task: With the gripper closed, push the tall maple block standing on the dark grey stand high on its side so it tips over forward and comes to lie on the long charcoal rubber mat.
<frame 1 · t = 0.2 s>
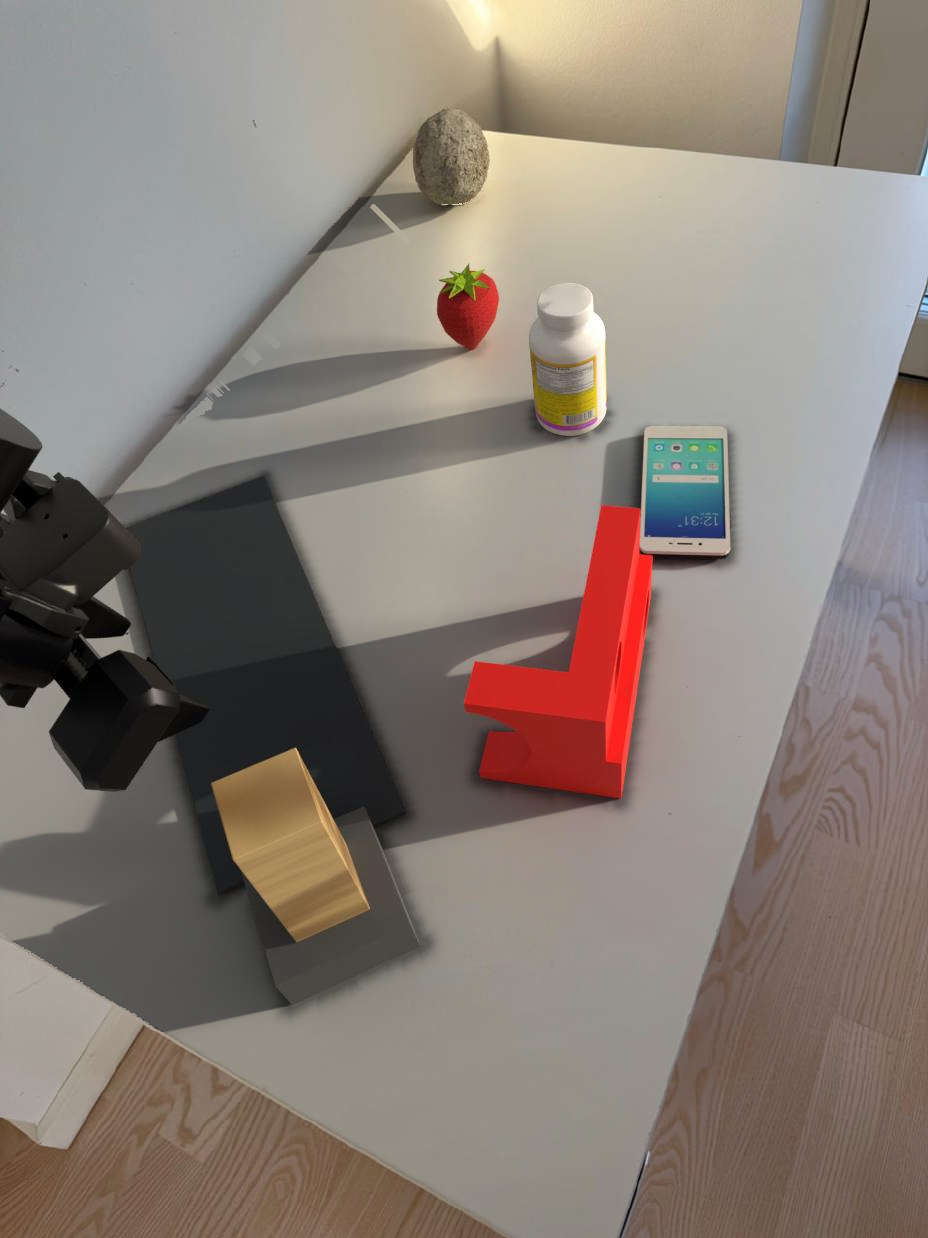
hand: (164, 669, 61), 16 cm above the table, tool tilted 30°, fingers open, 9 cm apart
stand: (335, 913, 67), on the table
strawberry: (474, 349, 101), on the table
supplement bottle: (570, 416, 94), on the table
smartphone: (684, 493, 86), on the table
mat: (245, 655, 81), on the table
bracket: (570, 684, 76), on the table
decorative stone: (457, 200, 118), on the table
maple block: (321, 891, 64), point 4 cm above the table, touching stand
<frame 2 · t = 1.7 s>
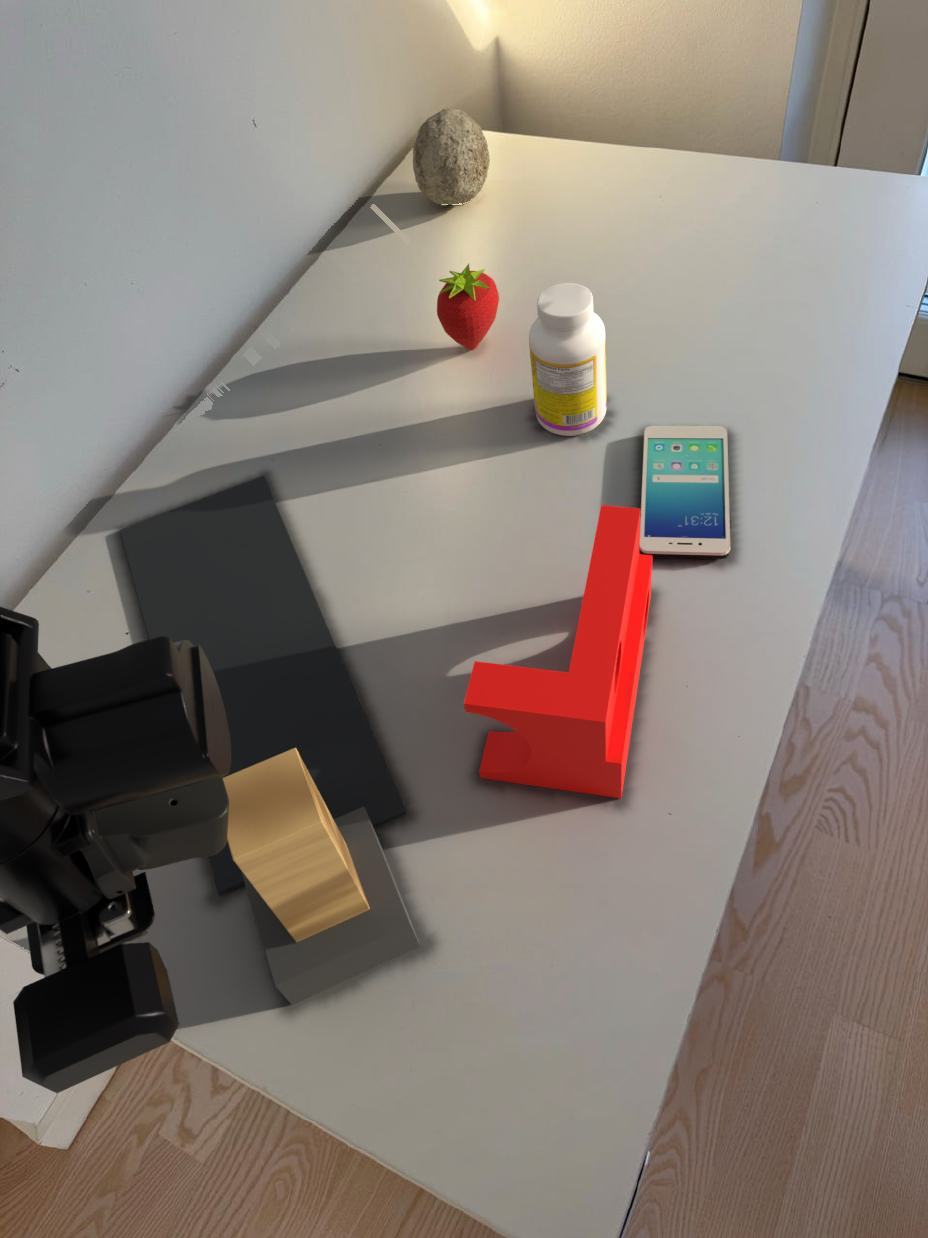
hand: (137, 931, 54), 13 cm above the table, tool pointing down, fingers closed
nothing on the table moved.
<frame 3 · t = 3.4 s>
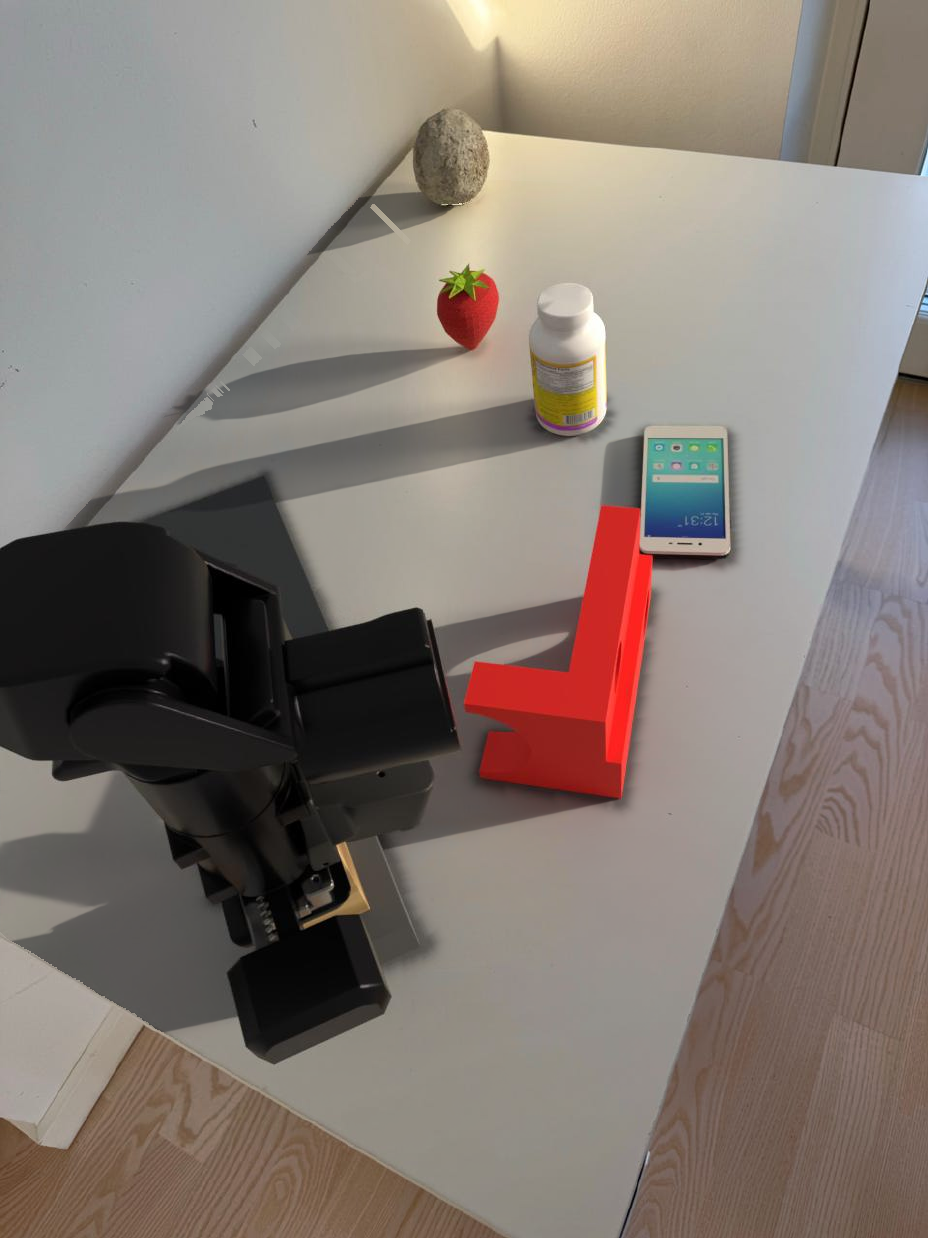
hand: (308, 908, 54), 13 cm above the table, tool pointing down, fingers closed
maple block: (321, 891, 64), point 4 cm above the table, touching gripper, stand
everything else where it was.
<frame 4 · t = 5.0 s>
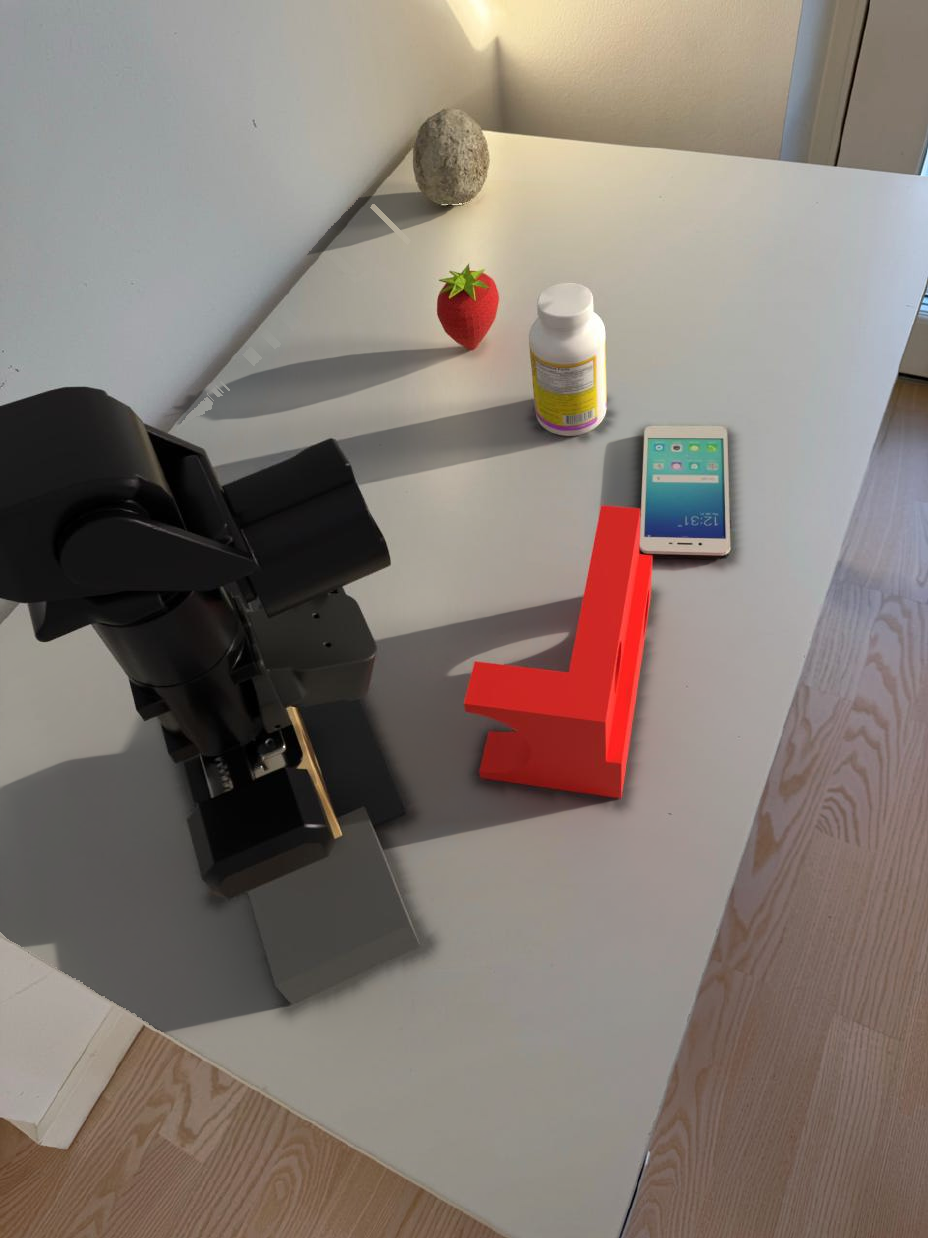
hand: (269, 788, 59), 13 cm above the table, tool pointing down, fingers closed
maple block: (294, 825, 64), point 7 cm above the table, tilted 109°, touching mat, stand
everything else where it was.
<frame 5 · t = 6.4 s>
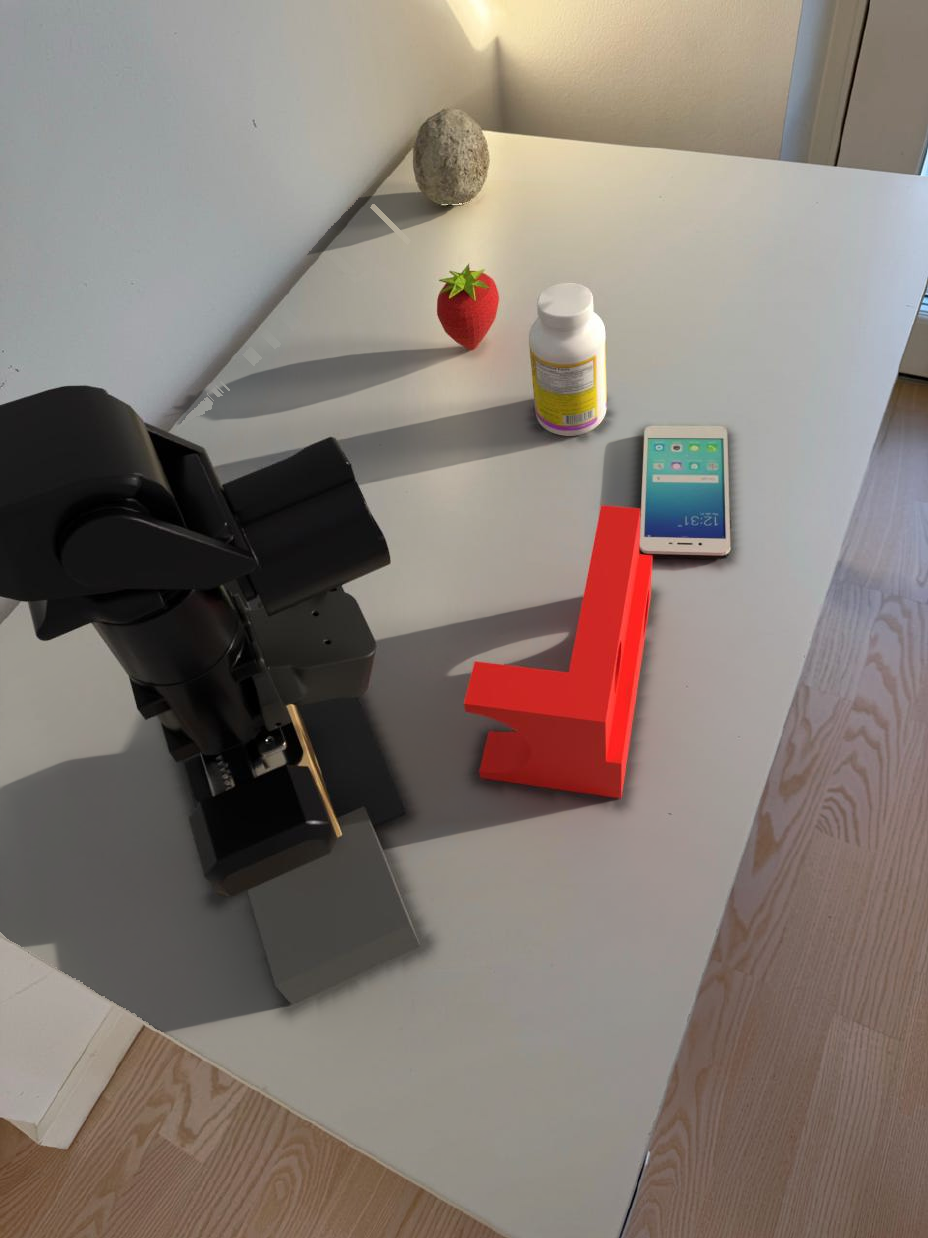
hand: (269, 787, 59), 13 cm above the table, tool pointing down, fingers closed
nothing on the table moved.
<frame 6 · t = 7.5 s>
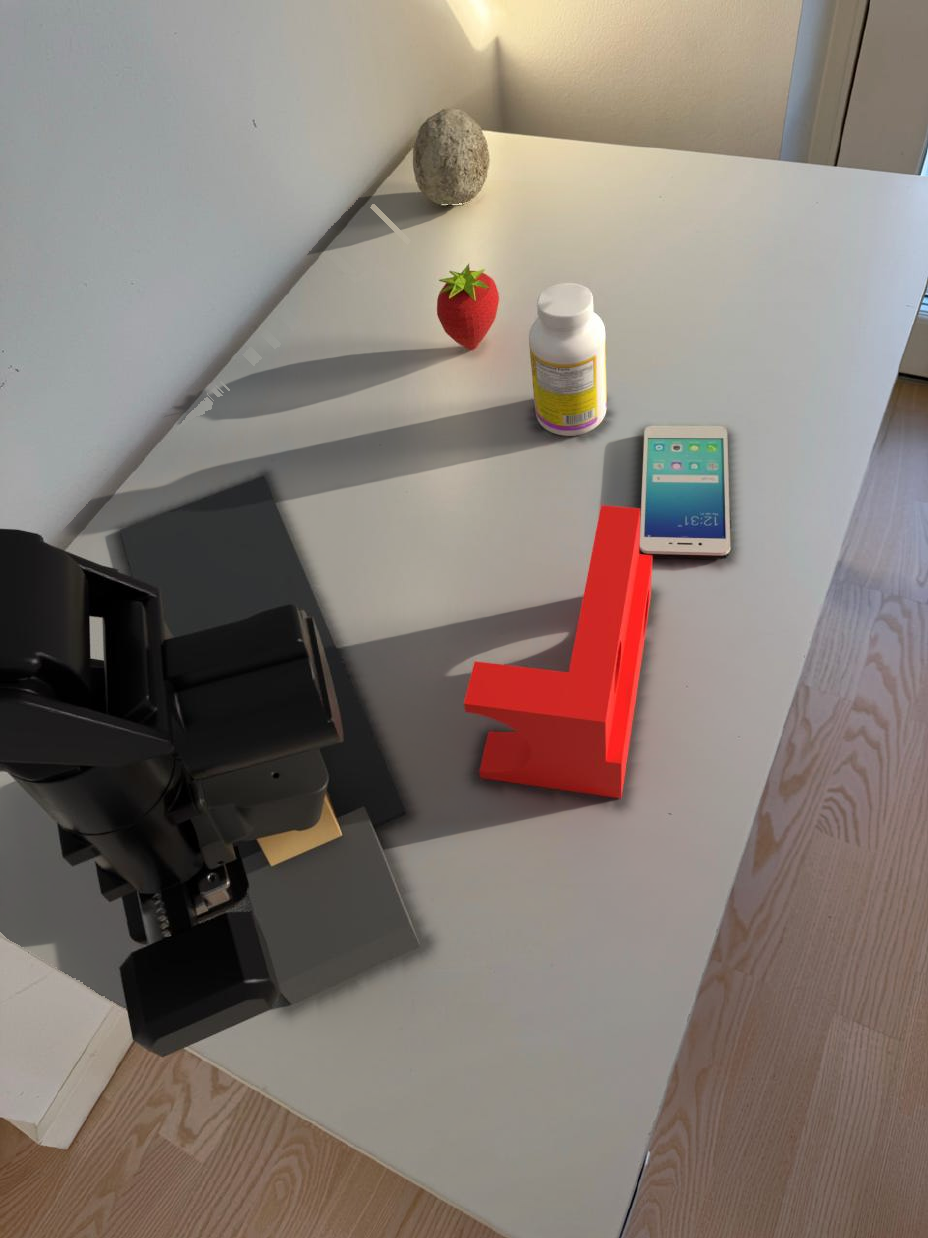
hand: (218, 906, 55), 13 cm above the table, tool pointing down, fingers closed
nothing on the table moved.
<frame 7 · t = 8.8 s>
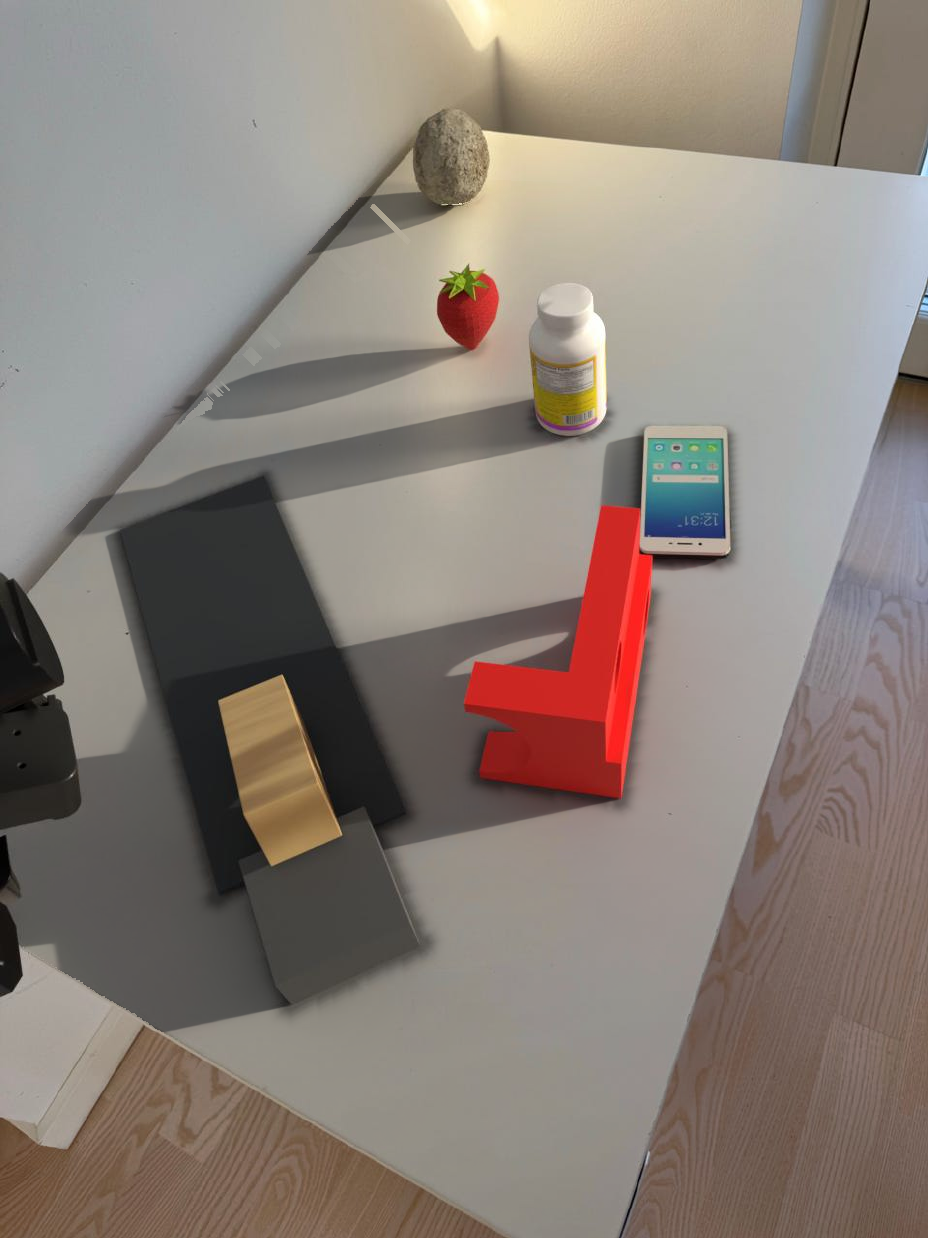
hand: (12, 895, 57), 13 cm above the table, tool pointing down, fingers closed
nothing on the table moved.
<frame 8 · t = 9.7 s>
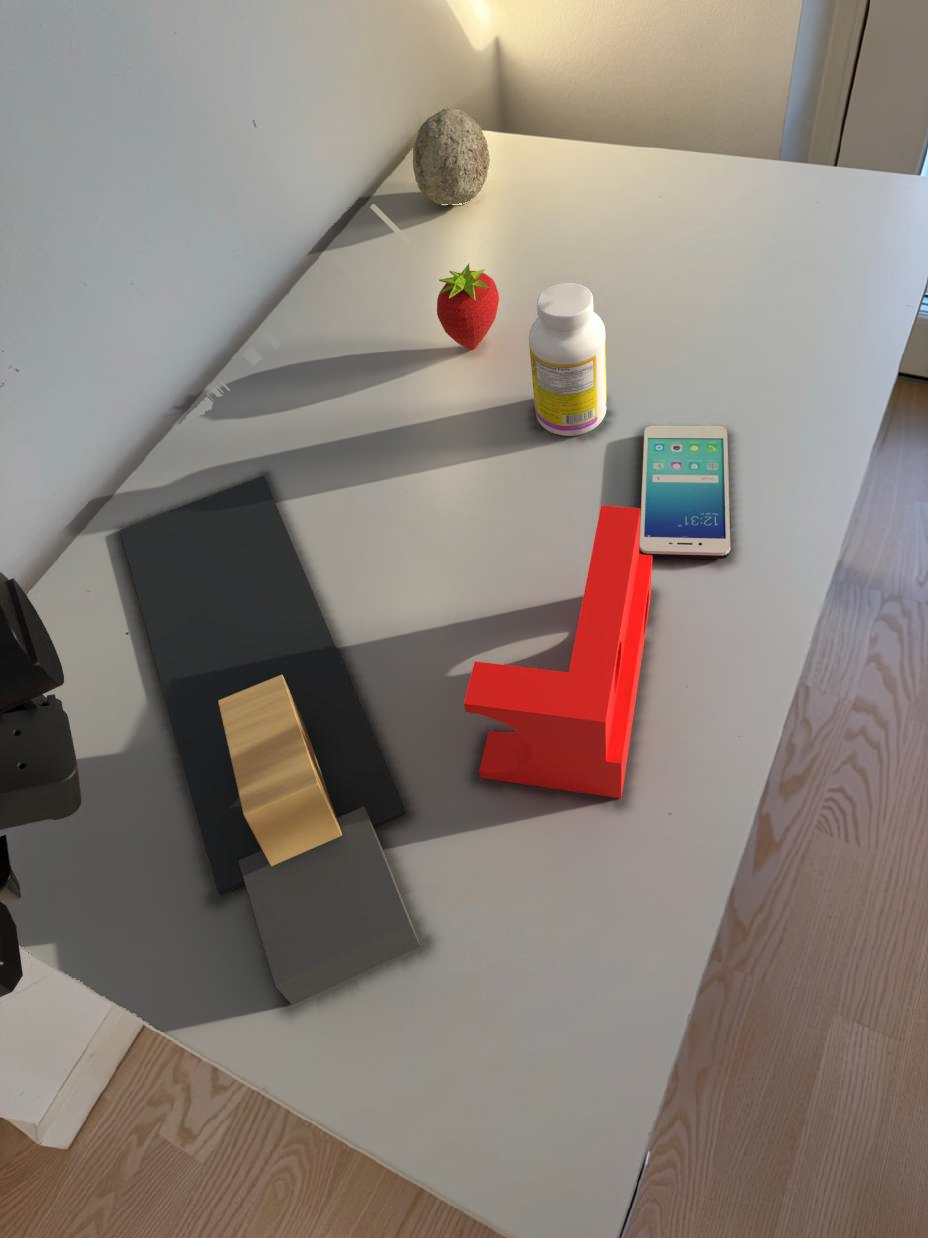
hand: (12, 895, 57), 13 cm above the table, tool pointing down, fingers closed
nothing on the table moved.
at the end: maple block tilted 109°; maple block touching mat, stand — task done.
